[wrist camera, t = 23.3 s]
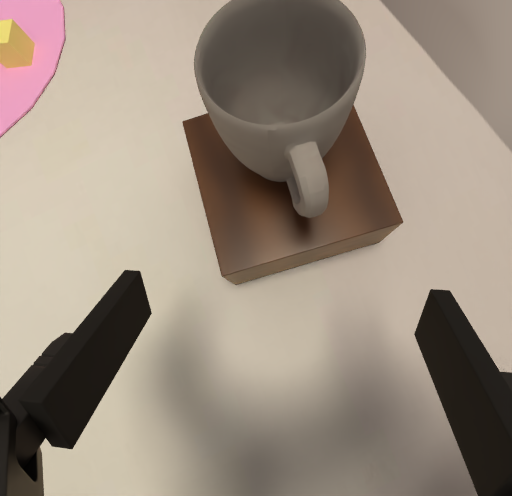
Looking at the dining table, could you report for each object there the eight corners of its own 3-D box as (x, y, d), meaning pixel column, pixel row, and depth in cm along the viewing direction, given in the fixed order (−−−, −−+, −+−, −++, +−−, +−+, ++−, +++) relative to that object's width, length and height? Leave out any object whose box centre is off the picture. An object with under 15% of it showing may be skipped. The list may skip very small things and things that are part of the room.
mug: (216, 121, 26) (176, 11, 17) (317, 90, 26) (334, -40, 16) (253, 255, 23) (230, 212, 14) (367, 222, 23) (422, 155, 13)
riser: (330, 116, 32) (339, 71, 26) (380, 242, 28) (404, 222, 23) (201, 156, 32) (181, 121, 26) (235, 285, 29) (221, 276, 23)
